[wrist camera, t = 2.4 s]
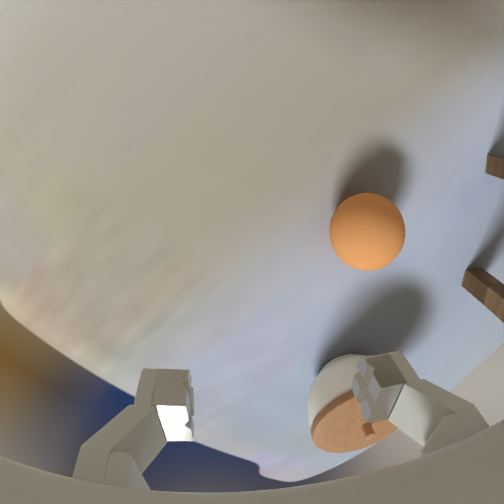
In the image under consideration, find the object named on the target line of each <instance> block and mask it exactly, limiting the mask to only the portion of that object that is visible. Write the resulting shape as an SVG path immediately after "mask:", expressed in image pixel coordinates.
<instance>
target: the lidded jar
mask: <svg viewBox="0 0 504 504" xmlns="http://www.w3.org/2000/svg"><path fill="white" fill-rule="evenodd" d="M366 356H368V355H358V354H346V355H342V356H339V357H336V358H334V359H333V360H331V361H330V362H328V363H327V364H326V365H325V366H324V367H323V368H322V369H321V370H320V372H319V374H318V375H317V377H316V378H315V379H314V381H313V383H312V385H311V387H310V390H309V393H308V398H307V413H308V419H309V424H310V428H311V435H312V439H313V442H314V444H315V445H316V446H317V447H318V448H320V449H322V450H324V451H327V452H332V453H344V452H351V451H355V450H359V449H362V448H365V447H368V446H370V445H373V444H375V443H377V442H379V441H380V440H382V439H384V438H385V437H387V436H388V435H390V434H391V433H392V432H394V431H395V430H396V429H397V427H396V426H395V425H394V424H392V423H391V422H390V421H388V419H386V420H381V421H376V422H371V423H366V422H365V419H364V417H363V415H362V413H361V410H360V409H361V406H362V404H361V403H359V402H358V401H356V399H355V397H354V394H353V389H352V382H353V378H354V375H355V374H356V373H357V372H358V371H359V369H358V367H357V364H358V361H359V359H360V358H361V357H366Z"/></svg>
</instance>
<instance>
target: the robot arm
mask: <svg viewBox="0 0 504 504" xmlns="http://www.w3.org/2000/svg"><path fill="white" fill-rule="evenodd" d="M357 367H358V369H359V371H358V372H357V373H356V374H355V375H354V378H353V382H352V389H353V394H354V397H355V399H356V401H358V402H359V403H361V404H362V406H361V409H360V410H361V413H362V415H363V417H364V419H365V422H366V423H371V422H376V421H381V420H386V419H388V421H390V422H391V423H392V424H394V425H395V426H396V427H397V428H399V429H400V430H401V431H403V432H404V433H405V434H407V435H408V436H409V437H411V438H412V439H413V440H415V441H416V442H417V443H419V444H420V445H421V446H423V448H422V450H421V451H420V453H419V454H418V455H417V457H416V458H415V459H412V460H409V461H406V462H403V463H399V464H397V465H393V466H389V467H386V468H383V469H379V470H375V471H372V472H368V473H364V474H360V475H356V476H351V477H347V478H343V479H338V480H332V481H328V482H322V483H316V484H310V485H304V486H298V487H290V488H282V489H273V490H262V491H249V492H231V493H186V492H166V491H152V490H150V488H149V487H148V485H147V484H146V482H145V480H144V478H143V476H142V473H143V472H144V470H145V469H146V468H147V467H148V466H149V464H150V463H151V462H152V461H153V459H154V458H155V457H156V456H157V454H158V453H159V452H160V451H161V449H162V448H163V447H164V446H165V444H166V443H167V441H193V431H194V424H193V418H192V416H193V415H194V393H193V387H191V374H190V370H177V369H147V368H144V369H143V370H142V372H141V376H140V380H139V384H138V389H137V393H136V397H135V402H134V405H129V406H128V407H126V408H125V409H124V410H123V411H122V412H121V413H119V414H118V415H117V416H116V417H115V418H113V419H112V420H111V421H110V422H109V423H108V424H106V425H105V426H104V427H103V428H102V429H100V430H99V431H98V432H97V433H96V434H95V435H94V436H92V437H91V438H90V439H89V440H87V441H86V442H85V443H84V444H83V445H82V446H81V448H80V452H79V455H78V459H77V462H76V466H75V470H74V473H73V477H72V478H69V477H66V476H62V475H58V474H54V473H50V472H46V471H43V470H39V469H36V468H33V467H29V466H26V465H23V464H20V463H17V462H14V461H11V460H8V459H5V458H3V457H0V504H504V420H502V421H500V422H498V423H496V424H495V425H492V426H490V427H489V425H488V424H487V422H486V421H485V420H484V418H483V417H482V415H481V414H480V412H479V411H478V410H477V408H476V407H475V405H474V404H472V403H470V402H468V401H466V400H464V399H462V398H460V397H458V396H456V395H454V394H452V393H450V392H448V391H446V390H444V389H442V388H440V387H438V386H436V385H434V384H433V383H431V382H429V381H427V380H425V379H422V380H420V378H419V377H418V375H417V374H416V372H415V371H414V369H413V368H412V366H411V365H410V364H409V362H408V361H407V359H406V358H405V356H404V355H403V353H402V352H400V351H395V352H389V353H386V354H385V353H384V354H379V355H373V356H366V357H361V358H360V359H359V361H358V364H357Z"/></svg>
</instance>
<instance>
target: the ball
mask: <svg viewBox="0 0 504 504" xmlns="http://www.w3.org/2000/svg"><path fill="white" fill-rule="evenodd" d="M404 239H405V225H404V221H403V218H402V215H401V213H400V212H399V210H398V209H397V207H396V206H395V205H394V204H393V203H392V202H391V201H390V200H388V199H387V198H385V197H383V196H381V195H378V194H375V193H359V194H356V195H353V196H351V197H349V198H347V199H346V200H344V201H343V202H342V203H341V204H340V205H339V206H338V207H337V209H336V210H335V212H334V214H333V216H332V219H331V222H330V240H331V244H332V246H333V249H334V251H335V252H336V254H337V255H338V257H339V258H340V259H341V260H342V261H343V262H344V263H346V264H347V265H349V266H351V267H353V268H355V269H359V270H364V271H371V270H377V269H380V268H383V267H385V266H387V265H388V264H390V263H391V262H392V261H393V260H394V259H395V258H396V257H397V256H398V254H399V253H400V251H401V249H402V246H403V244H404Z"/></svg>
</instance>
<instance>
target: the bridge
mask: <svg viewBox="0 0 504 504" xmlns="http://www.w3.org/2000/svg"><path fill="white" fill-rule="evenodd" d="M486 173H487V174H490V175H493V176H496V177H498V178H501V179H504V159H503V158H499V157H495V156H491V155H488V156H487V166H486ZM462 286H463V287H464V288H465V289H466V290H467V291H468V292H470V293H471V294H472V295H473V296H474V297H475V298H477V299H478V300H479V301H480V302H481V303H482V304H483V305H485V306H486V307H487V308H488V309H489V310H490V311H491V312H492V313H494V314H495V315H496V316H497V317H498V318H499V319H500V320H501V321H502V322H503V323H504V284H503V283H501V282H500V281H499V280H497V279H496V278H495V277H493V276H492V275H491V274H489V273H488V272H486V271H485V270H484V269H470V270H466V272H465V275H464V279H463V282H462Z"/></svg>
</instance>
